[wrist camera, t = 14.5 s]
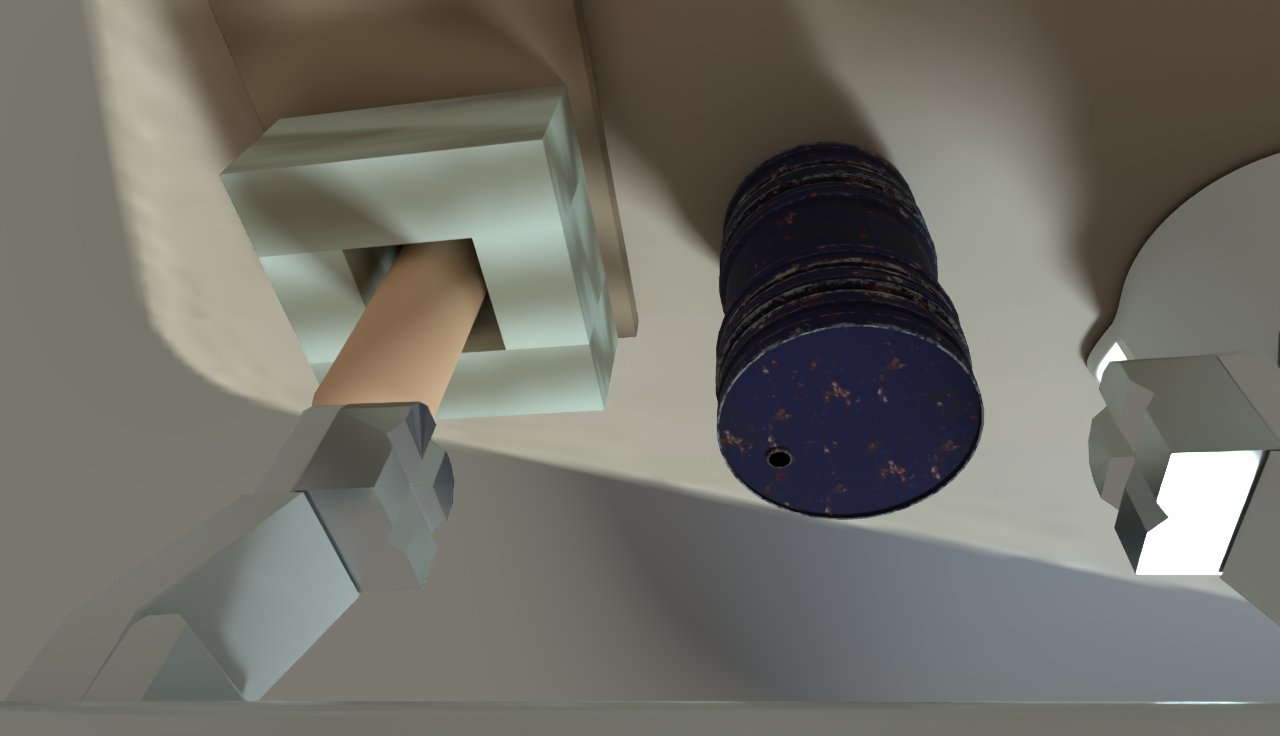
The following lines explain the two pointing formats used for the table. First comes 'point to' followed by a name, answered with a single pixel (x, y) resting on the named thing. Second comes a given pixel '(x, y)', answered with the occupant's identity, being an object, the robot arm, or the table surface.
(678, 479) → the table surface
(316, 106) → the socket board
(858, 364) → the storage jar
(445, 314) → the peg
